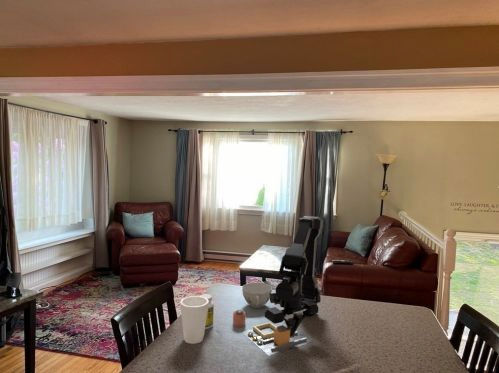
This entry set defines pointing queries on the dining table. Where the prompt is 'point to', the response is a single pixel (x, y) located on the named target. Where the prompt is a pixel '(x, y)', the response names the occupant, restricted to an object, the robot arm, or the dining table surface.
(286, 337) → the toggle
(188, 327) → the foam cup
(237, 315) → the salmon cylinder
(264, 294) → the teacup
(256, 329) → the socket
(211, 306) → the pill bottle
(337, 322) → the dining table surface
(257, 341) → the panel
